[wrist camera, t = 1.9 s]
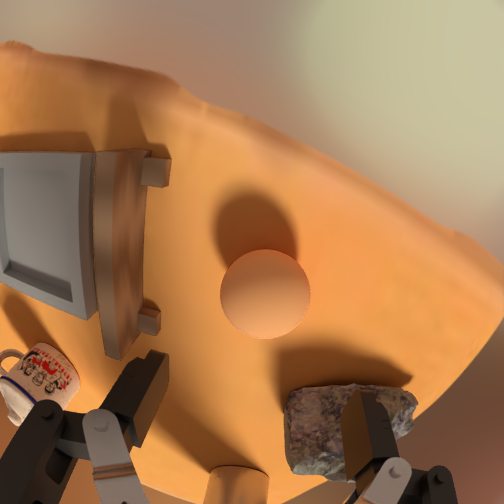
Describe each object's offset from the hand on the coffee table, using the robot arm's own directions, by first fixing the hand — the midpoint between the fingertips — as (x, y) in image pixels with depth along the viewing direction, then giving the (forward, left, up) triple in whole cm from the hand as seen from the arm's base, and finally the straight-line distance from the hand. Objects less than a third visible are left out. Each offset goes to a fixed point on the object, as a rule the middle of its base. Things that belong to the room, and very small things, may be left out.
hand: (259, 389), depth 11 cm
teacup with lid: (-5, +33, -12) cm, 35 cm away
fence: (+5, +10, -12) cm, 16 cm away
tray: (+11, +20, -12) cm, 26 cm away
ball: (0, 0, -9) cm, 9 cm away
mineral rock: (-17, -3, -12) cm, 21 cm away
